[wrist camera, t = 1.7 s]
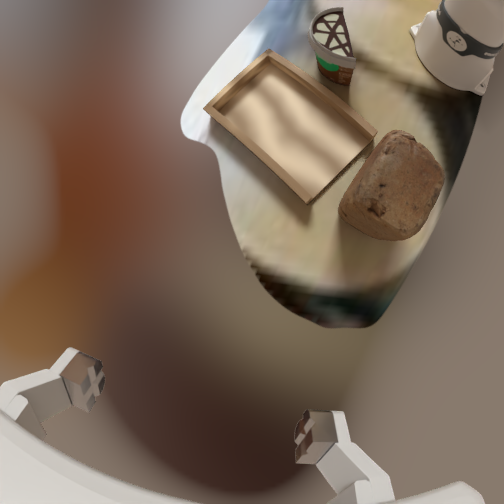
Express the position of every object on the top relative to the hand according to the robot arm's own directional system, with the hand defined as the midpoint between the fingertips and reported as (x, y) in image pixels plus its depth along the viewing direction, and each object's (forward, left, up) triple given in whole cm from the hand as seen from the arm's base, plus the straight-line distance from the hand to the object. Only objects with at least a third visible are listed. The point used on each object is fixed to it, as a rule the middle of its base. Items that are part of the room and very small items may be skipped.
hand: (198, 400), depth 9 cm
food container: (-30, -20, -35) cm, 50 cm away
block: (-16, +1, -35) cm, 38 cm away
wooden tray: (-16, -17, -34) cm, 42 cm away
